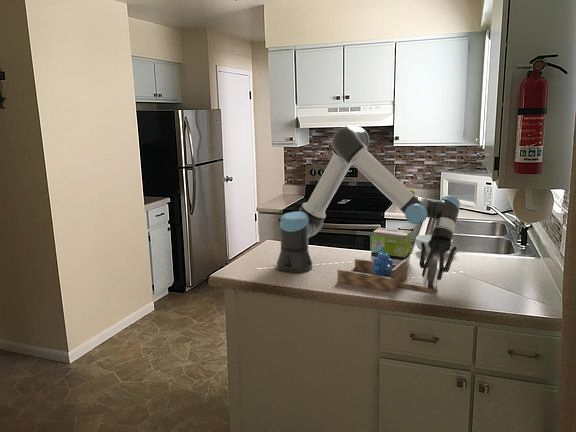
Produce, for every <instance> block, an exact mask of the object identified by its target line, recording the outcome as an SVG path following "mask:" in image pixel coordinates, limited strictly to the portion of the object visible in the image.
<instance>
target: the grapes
mask: <svg viewBox="0 0 576 432" xmlns="http://www.w3.org/2000/svg"><path fill="white" fill-rule="evenodd" d="M373 262H374V264H375V265H373V266H372V270H373V272H375V273H374V274H373V275H377V276H383V277H389V278H391V276H390V275H389V274H391V270H392V267H391V266H392V264H393V262H392V260H391V259H390V257H389V255H388V254H383V253H379V254H378V257H376V258H374V260H373Z"/></svg>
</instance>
